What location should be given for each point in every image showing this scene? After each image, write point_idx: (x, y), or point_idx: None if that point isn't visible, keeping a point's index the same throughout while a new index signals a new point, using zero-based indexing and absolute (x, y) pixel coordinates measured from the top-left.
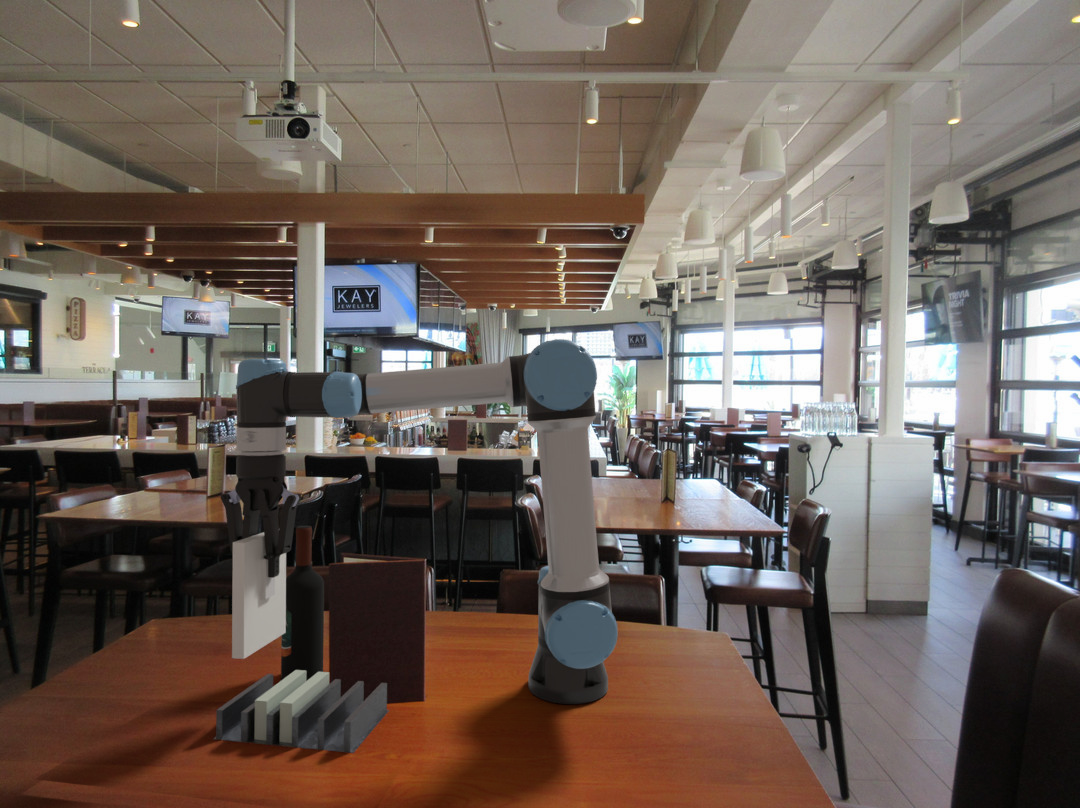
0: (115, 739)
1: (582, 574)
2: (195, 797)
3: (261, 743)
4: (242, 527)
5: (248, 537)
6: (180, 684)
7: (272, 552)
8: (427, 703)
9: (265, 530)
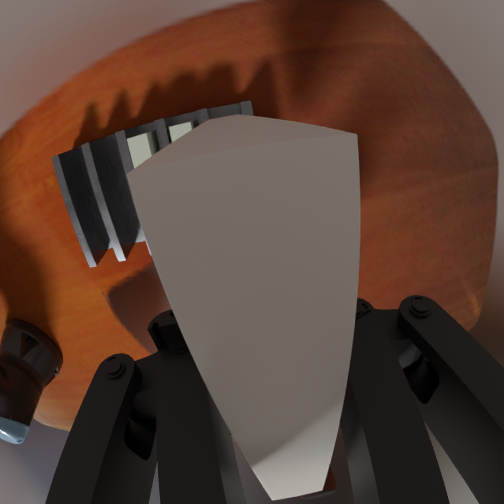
0: (379, 93)
1: None
2: (184, 22)
3: (178, 115)
4: (445, 442)
5: (337, 398)
6: (405, 227)
7: (159, 359)
8: (95, 289)
9: (209, 490)
